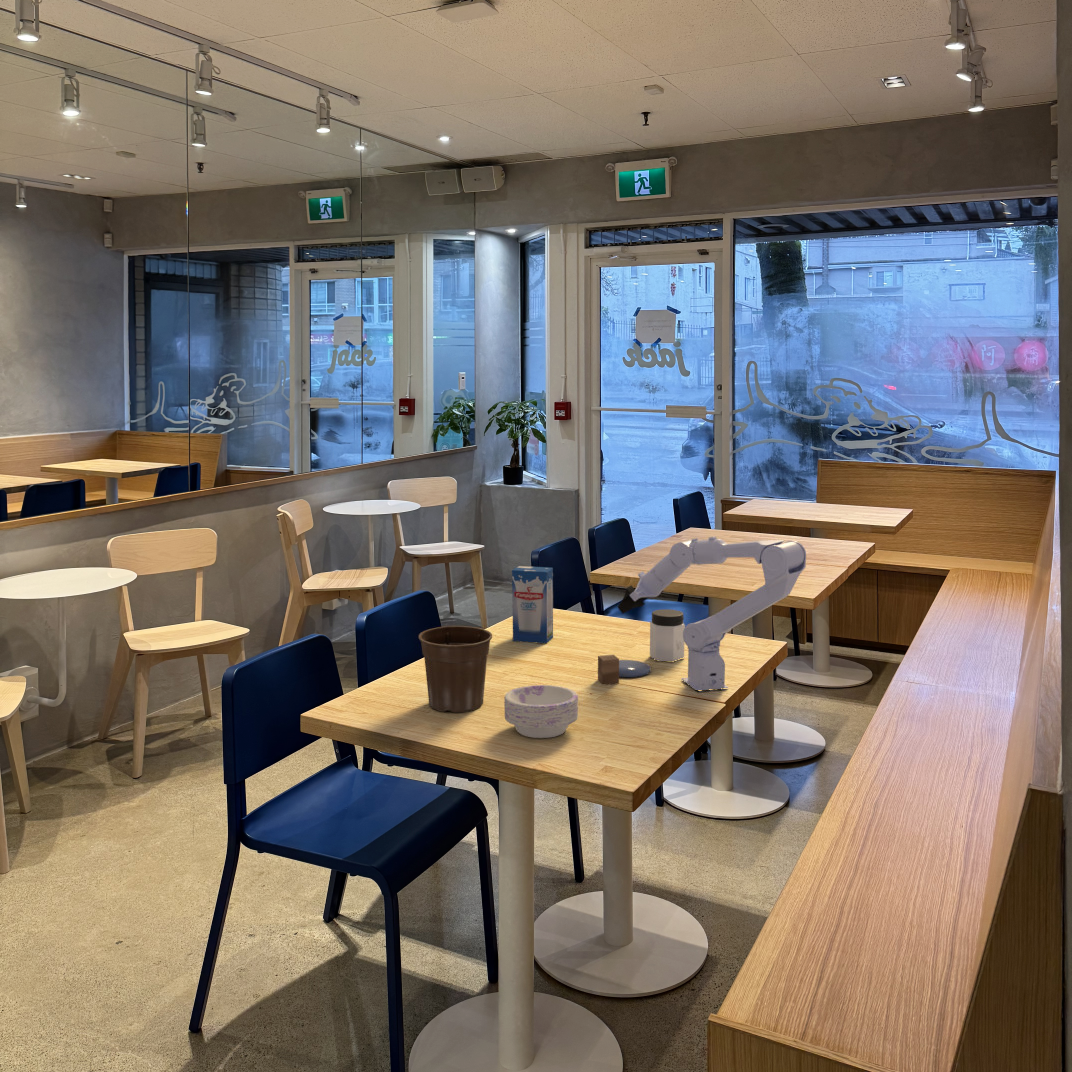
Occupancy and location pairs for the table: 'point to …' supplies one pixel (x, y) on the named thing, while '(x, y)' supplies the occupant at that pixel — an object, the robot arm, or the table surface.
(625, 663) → the blue-grey round disc
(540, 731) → the paper bowls
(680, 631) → the jar
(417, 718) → the table surface
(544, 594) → the milk carton
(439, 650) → the plant pot
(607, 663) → the walnut block
